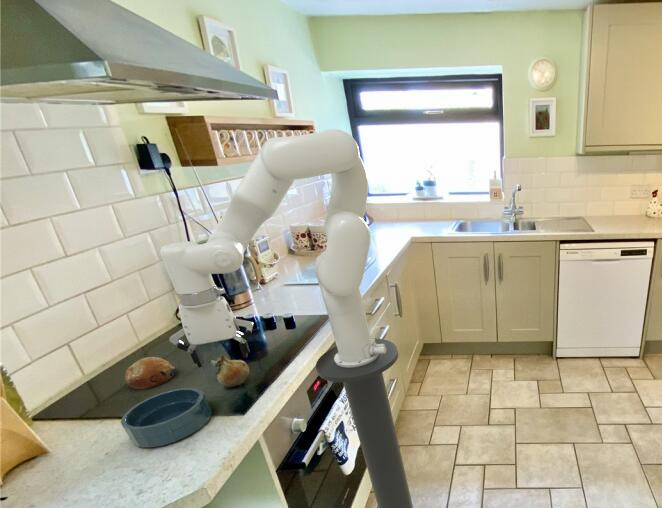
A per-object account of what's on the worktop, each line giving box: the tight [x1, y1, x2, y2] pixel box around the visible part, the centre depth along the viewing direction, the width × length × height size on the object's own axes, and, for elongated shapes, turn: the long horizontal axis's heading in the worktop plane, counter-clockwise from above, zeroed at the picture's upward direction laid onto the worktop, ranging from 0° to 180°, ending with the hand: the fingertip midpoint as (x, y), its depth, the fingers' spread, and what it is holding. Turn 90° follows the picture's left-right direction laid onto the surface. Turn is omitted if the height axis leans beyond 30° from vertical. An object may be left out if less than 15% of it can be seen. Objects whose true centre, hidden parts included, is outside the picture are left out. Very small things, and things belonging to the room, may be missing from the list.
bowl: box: [120, 387, 213, 448], centre depth 92 cm, size 15×15×6 cm
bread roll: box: [124, 356, 176, 390], centre depth 111 cm, size 10×10×8 cm
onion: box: [210, 355, 250, 388], centre depth 106 cm, size 8×8×8 cm
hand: (224, 360), depth 105 cm, fingers open, 9 cm apart
